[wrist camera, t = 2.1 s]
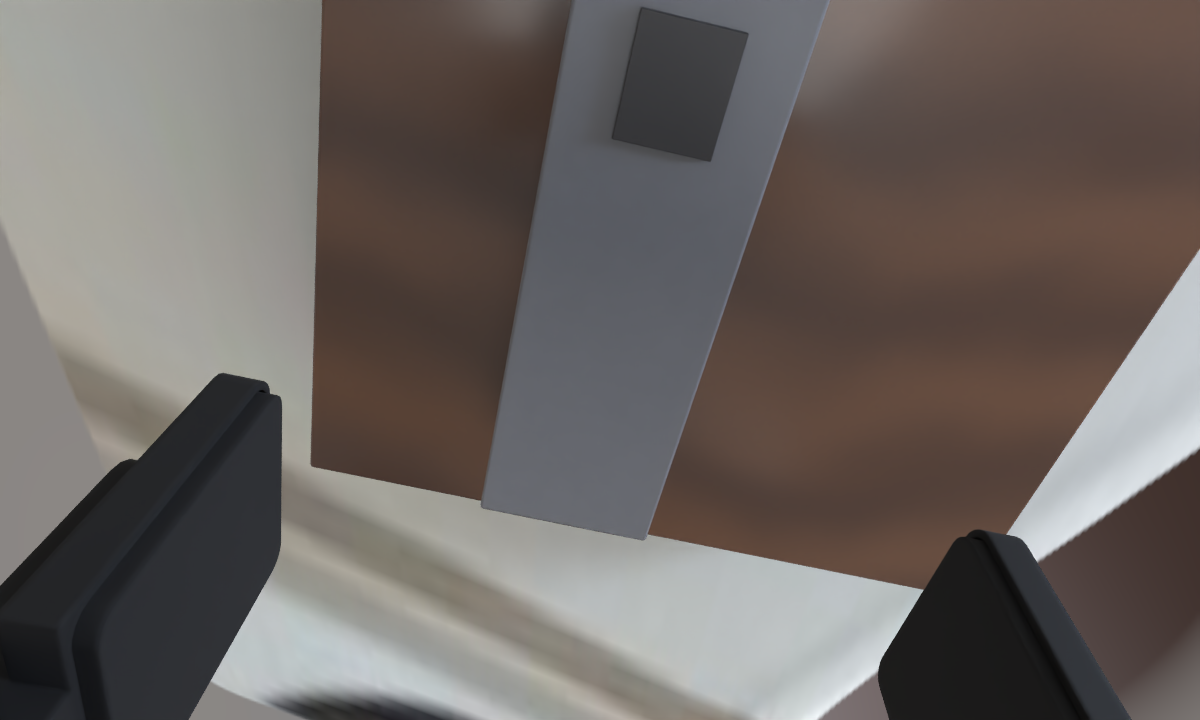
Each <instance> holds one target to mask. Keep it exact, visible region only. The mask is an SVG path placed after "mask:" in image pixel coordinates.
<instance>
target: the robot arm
mask: <svg viewBox="0 0 1200 720" xmlns="http://www.w3.org/2000/svg"><path fill="white" fill-rule="evenodd" d="M281 466H282V401H281V398H280V397H279V396H277V395H273V394H270V389H269V386H268V384H267V383H266V382H264V381H260V380H255V379H250V378H245V377H240V376H236V375H231V374H226V373H221V374H218V375H217V376H216V377H214V378H213V379H212V380H211V381H210V383H209V384H208V385H207V386H206V387H205V388H204V389H203V390H202V391H201V392H200V393H199V394H198V395H197V397H196V398H195V399H194V400H193V401H192V402H191V403H190V404H189V405H188V406H187V407H186V408H185V410H184V411H183V412H182V413H181V414H180V415H179V416H178V417H177V418H176V419H175V420H174V421H173V423H172V424H171V425H170V426H169V427H168V428H167V429H166V430H165V431H164V432H163V433H162V434H161V436H160V437H159V438H158V439H157V440H156V441H155V442H154V443H153V444H152V445H151V446H150V447H149V448H148V450H147V451H146V452H145V453H144V454H143V455H142V456H141V457H140V458H139V459H138V460H133V459H128V460H125V461H123V462H120V463H119V464H118V465H117V466H115V467H114V468H113V469H112V470H111V471H110V472H109V473H108V474H107V475H106V476H105V477H104V478H103V479H102V480H101V481H100V482H99V483H98V484H97V485H96V486H95V487H94V488H93V489H92V490H91V492H90V493H89V494H88V495H87V496H86V497H85V498H84V499H83V500H82V501H81V502H80V503H79V504H78V505H77V506H76V507H75V508H74V509H73V510H72V511H71V512H70V513H69V514H68V516H67V517H66V518H65V519H64V520H63V521H62V522H61V523H60V524H59V525H58V526H57V527H56V528H55V529H54V530H53V531H52V532H51V534H50V535H49V536H48V537H47V538H46V539H45V540H44V541H43V542H42V543H41V544H40V545H39V546H38V547H37V548H36V549H35V550H34V551H33V552H32V553H31V554H30V555H29V556H28V557H27V559H26V560H25V561H24V562H23V563H22V564H21V565H20V566H19V567H18V568H17V569H16V570H15V571H14V572H13V573H12V574H11V575H10V576H9V577H8V578H7V579H6V581H4V583H3V584H2V585H1V586H0V720H189V718H190V716H191V714H192V712H193V711H194V709H195V707H196V705H197V704H198V702H199V700H200V698H201V696H202V695H203V693H204V691H205V689H206V688H207V686H208V684H209V682H210V681H211V679H212V677H213V675H214V674H215V672H216V670H217V668H218V667H219V665H220V663H221V661H222V659H223V658H224V656H225V654H226V652H227V651H228V649H229V647H230V645H231V644H232V642H233V640H234V638H235V636H236V635H237V633H238V631H239V629H240V628H241V626H242V624H243V622H244V621H245V619H246V617H247V615H248V613H249V612H250V610H251V608H252V606H253V605H254V603H255V601H256V599H257V598H258V596H259V594H260V592H261V590H262V589H263V587H264V585H265V583H266V582H267V580H268V578H269V576H270V574H271V573H272V571H273V569H274V567H275V564H276V562H277V559H278V555H279V551H280V546H281ZM878 682H879V686H880V690H881V693H882V697H883V700H884V703H885V707H886V710H887V713H888V717H889V720H1131V718H1130V716H1129V715H1128V713H1127V711H1126V710H1125V708H1124V706H1123V705H1122V703H1121V702H1120V700H1119V698H1118V696H1117V695H1116V693H1115V692H1114V690H1113V688H1112V686H1111V685H1110V683H1109V681H1108V680H1107V678H1106V677H1105V675H1104V673H1103V671H1102V670H1101V668H1100V667H1099V665H1098V663H1097V662H1096V660H1095V658H1094V657H1093V655H1092V653H1091V651H1090V650H1089V648H1088V647H1087V645H1086V643H1085V642H1084V640H1083V638H1082V637H1081V635H1080V633H1079V632H1078V630H1077V628H1076V627H1075V625H1074V623H1073V622H1072V620H1071V618H1070V617H1069V615H1068V613H1067V612H1066V610H1065V608H1064V607H1063V605H1062V603H1061V602H1060V600H1059V598H1058V597H1057V595H1056V594H1055V592H1054V590H1053V589H1052V587H1051V585H1050V583H1049V582H1048V580H1047V578H1046V577H1045V575H1044V573H1043V572H1042V570H1041V568H1040V567H1039V565H1038V563H1037V562H1036V560H1035V558H1034V557H1033V555H1032V553H1031V552H1030V550H1029V548H1028V547H1027V545H1026V544H1025V543H1024V542H1023V540H1022V539H1020V538H1018V537H1015V536H1010V535H1005V534H1000V533H995V532H991V531H986V530H981V529H976V530H973V531H971V532H969V533H968V535H967V536H966V537H959V538H957V539H956V540H955V541H954V542H953V544H952V545H951V547H950V548H949V550H948V552H947V553H946V555H945V557H944V558H943V560H942V561H941V563H940V565H939V566H938V568H937V570H936V571H935V573H934V574H933V576H932V578H931V579H930V581H929V583H928V584H927V586H926V587H925V589H924V591H923V592H922V594H921V596H920V597H919V599H918V600H917V602H916V604H915V605H914V607H913V609H912V610H911V612H910V613H909V615H908V617H907V618H906V620H905V622H904V623H903V625H902V626H901V628H900V630H899V631H898V633H897V635H896V636H895V638H894V639H893V641H892V643H891V644H890V646H889V648H888V649H887V651H886V652H885V654H884V656H883V657H882V659H881V662H880V665H879V671H878Z"/></svg>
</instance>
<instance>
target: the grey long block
mask: <svg viewBox="0 0 1200 720" xmlns="http://www.w3.org/2000/svg"><path fill="white" fill-rule="evenodd" d="M829 2H830V0H572V1H571V7H570V12H569V18H568V23H567V29H566V34H565V40H564V45H563V51H562V56H561V62H560V68H559V73H558V79H557V84H556V90H555V95H554V101H553V106H552V112H551V117H550V123H549V128H548V134H547V139H546V145H545V151H544V156H543V162H542V167H541V173H540V178H539V184H538V189H537V195H536V200H535V206H534V211H533V217H532V222H531V228H530V233H529V239H528V245H527V250H526V256H525V261H524V267H523V272H522V278H521V283H520V289H519V294H518V300H517V305H516V311H515V316H514V322H513V328H512V333H511V339H510V344H509V350H508V355H507V361H506V366H505V372H504V377H503V383H502V388H501V394H500V399H499V405H498V411H497V416H496V422H495V427H494V433H493V438H492V444H491V449H490V455H489V460H488V466H487V471H486V477H485V482H484V488H483V494H482V499H481V508H483V509H488V510H493V511H498V512H503V513H508V514H513V515H518V516H523V517H528V518H533V519H538V520H543V521H548V522H553V523H558V524H563V525H568V526H573V527H578V528H583V529H588V530H593V531H598V532H603V533H608V534H613V535H618V536H623V537H628V538H633V539H638V540H645V539H646V537H647V534H648V531H649V528H650V525H651V522H652V519H653V516H654V513H655V510H656V508H657V505H658V502H659V499H660V496H661V493H662V490H663V487H664V484H665V481H666V478H667V475H668V472H669V469H670V467H671V464H672V461H673V458H674V455H675V452H676V449H677V446H678V443H679V440H680V437H681V434H682V431H683V429H684V426H685V423H686V420H687V417H688V414H689V411H690V408H691V405H692V402H693V399H694V396H695V393H696V391H697V388H698V385H699V382H700V379H701V376H702V373H703V370H704V367H705V364H706V361H707V358H708V355H709V353H710V350H711V347H712V344H713V341H714V338H715V335H716V332H717V329H718V326H719V323H720V320H721V317H722V315H723V312H724V309H725V306H726V303H727V300H728V297H729V294H730V291H731V288H732V285H733V282H734V279H735V276H736V274H737V271H738V268H739V265H740V262H741V259H742V256H743V253H744V250H745V247H746V244H747V241H748V238H749V236H750V233H751V230H752V227H753V224H754V221H755V218H756V215H757V212H758V209H759V206H760V203H761V200H762V198H763V195H764V192H765V189H766V186H767V183H768V180H769V177H770V174H771V171H772V168H773V165H774V162H775V160H776V157H777V154H778V151H779V148H780V145H781V142H782V139H783V136H784V133H785V130H786V127H787V124H788V122H789V119H790V116H791V113H792V110H793V107H794V104H795V101H796V98H797V95H798V92H799V89H800V86H801V83H802V81H803V78H804V75H805V72H806V69H807V66H808V63H809V60H810V57H811V54H812V51H813V48H814V45H815V43H816V40H817V37H818V34H819V31H820V28H821V25H822V22H823V19H824V16H825V13H826V10H827V7H828V5H829Z"/></svg>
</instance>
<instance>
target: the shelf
mask: <svg viewBox="0 0 1200 720" xmlns="http://www.w3.org/2000/svg"><path fill="white" fill-rule="evenodd" d="M571 1H572V0H322V29H321V68H320V108H319V148H318V188H317V228H316V268H315V308H314V348H313V388H312V428H311V466H312V467H316V468H321V469H326V470H331V471H336V472H341V473H346V474H351V475H356V476H361V477H366V478H371V479H376V480H381V481H386V482H391V483H396V484H401V485H406V486H411V487H416V488H421V489H426V490H431V491H436V492H441V493H446V494H451V495H456V496H461V497H466V498H470V499H475V500H480V501H481V499H482V494H483V488H484V482H485V477H486V471H487V466H488V460H489V455H490V449H491V444H492V438H493V433H494V427H495V422H496V416H497V411H498V405H499V399H500V394H501V388H502V383H503V377H504V372H505V366H506V361H507V355H508V350H509V344H510V339H511V333H512V328H513V322H514V316H515V311H516V305H517V300H518V294H519V289H520V283H521V278H522V272H523V267H524V261H525V256H526V250H527V245H528V239H529V233H530V228H531V222H532V217H533V211H534V206H535V200H536V195H537V189H538V184H539V178H540V173H541V167H542V162H543V156H544V151H545V145H546V139H547V134H548V128H549V123H550V117H551V112H552V106H553V101H554V95H555V90H556V84H557V79H558V73H559V68H560V62H561V56H562V51H563V45H564V40H565V34H566V29H567V23H568V18H569V12H570V7H571ZM1199 249H1200V0H830V2H829V5H828V7H827V10H826V13H825V16H824V19H823V22H822V25H821V28H820V31H819V34H818V37H817V40H816V43H815V45H814V48H813V51H812V54H811V57H810V60H809V63H808V66H807V69H806V72H805V75H804V78H803V81H802V83H801V86H800V89H799V92H798V95H797V98H796V101H795V104H794V107H793V110H792V113H791V116H790V119H789V122H788V124H787V127H786V130H785V133H784V136H783V139H782V142H781V145H780V148H779V151H778V154H777V157H776V160H775V162H774V165H773V168H772V171H771V174H770V177H769V180H768V183H767V186H766V189H765V192H764V195H763V198H762V200H761V203H760V206H759V209H758V212H757V215H756V218H755V221H754V224H753V227H752V230H751V233H750V236H749V238H748V241H747V244H746V247H745V250H744V253H743V256H742V259H741V262H740V265H739V268H738V271H737V274H736V276H735V279H734V282H733V285H732V288H731V291H730V294H729V297H728V300H727V303H726V306H725V309H724V312H723V315H722V317H721V320H720V323H719V326H718V329H717V332H716V335H715V338H714V341H713V344H712V347H711V350H710V353H709V355H708V358H707V361H706V364H705V367H704V370H703V373H702V376H701V379H700V382H699V385H698V388H697V391H696V393H695V396H694V399H693V402H692V405H691V408H690V411H689V414H688V417H687V420H686V423H685V426H684V429H683V431H682V434H681V437H680V440H679V443H678V446H677V449H676V452H675V455H674V458H673V461H672V464H671V467H670V469H669V472H668V475H667V478H666V481H665V484H664V487H663V490H662V493H661V496H660V499H659V502H658V505H657V508H656V510H655V513H654V516H653V519H652V522H651V525H650V528H649V531H648V534H649V535H654V536H659V537H664V538H669V539H674V540H679V541H684V542H689V543H694V544H699V545H704V546H709V547H714V548H719V549H724V550H729V551H734V552H739V553H744V554H749V555H754V556H759V557H764V558H769V559H774V560H779V561H784V562H788V563H793V564H798V565H803V566H808V567H813V568H818V569H823V570H828V571H833V572H838V573H843V574H848V575H853V576H858V577H863V578H868V579H873V580H878V581H883V582H888V583H893V584H898V585H903V586H908V587H913V588H918V589H923V590H924V589H925V587H926V586H927V584H928V583H929V581H930V579H931V578H932V576H933V574H934V573H935V571H936V570H937V568H938V566H939V565H940V563H941V561H942V560H943V558H944V557H945V555H946V553H947V552H948V550H949V548H950V547H951V545H952V544H953V542H954V541H955V540H956V539H957V538H959V537H966V536H967V535H968V533H969V532H971V531H973V530H976V529H981V530H986V531H991V532H995V533H1000V534H1005V535H1006V534H1007V532H1008V531H1009V529H1010V528H1011V527H1012V525H1013V524H1014V522H1015V521H1016V519H1017V518H1018V516H1019V515H1020V513H1021V512H1022V510H1023V509H1024V507H1025V506H1026V504H1027V503H1028V501H1029V500H1030V499H1031V497H1032V496H1033V494H1034V493H1035V491H1036V490H1037V488H1038V487H1039V485H1040V484H1041V482H1042V481H1043V479H1044V478H1045V476H1046V475H1047V473H1048V472H1049V470H1050V469H1051V468H1052V466H1053V465H1054V463H1055V462H1056V460H1057V459H1058V457H1059V456H1060V454H1061V453H1062V451H1063V450H1064V448H1065V447H1066V445H1067V444H1068V442H1069V441H1070V440H1071V438H1072V437H1073V435H1074V434H1075V432H1076V431H1077V429H1078V428H1079V426H1080V425H1081V423H1082V422H1083V420H1084V419H1085V417H1086V416H1087V414H1088V413H1089V411H1090V410H1091V409H1092V407H1093V406H1094V404H1095V403H1096V401H1097V400H1098V398H1099V397H1100V395H1101V394H1102V392H1103V391H1104V389H1105V388H1106V386H1107V385H1108V383H1109V382H1110V381H1111V379H1112V378H1113V376H1114V375H1115V373H1116V372H1117V370H1118V369H1119V367H1120V366H1121V364H1122V363H1123V361H1124V360H1125V358H1126V357H1127V355H1128V354H1129V352H1130V351H1131V350H1132V348H1133V347H1134V345H1135V344H1136V342H1137V341H1138V339H1139V338H1140V336H1141V335H1142V333H1143V332H1144V330H1145V329H1146V327H1147V326H1148V324H1149V323H1150V322H1151V320H1152V319H1153V317H1154V316H1155V314H1156V313H1157V311H1158V310H1159V308H1160V307H1161V305H1162V304H1163V302H1164V301H1165V299H1166V298H1167V296H1168V295H1169V293H1170V292H1171V291H1172V289H1173V288H1174V286H1175V285H1176V283H1177V282H1178V280H1179V279H1180V277H1181V276H1182V274H1183V273H1184V271H1185V270H1186V268H1187V267H1188V265H1189V264H1190V263H1191V261H1192V260H1193V258H1194V257H1195V255H1196V254H1197V252H1198V251H1199Z"/></svg>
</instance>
